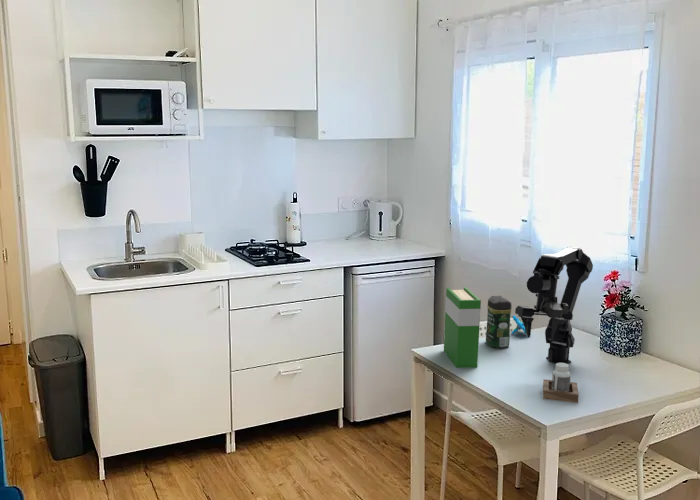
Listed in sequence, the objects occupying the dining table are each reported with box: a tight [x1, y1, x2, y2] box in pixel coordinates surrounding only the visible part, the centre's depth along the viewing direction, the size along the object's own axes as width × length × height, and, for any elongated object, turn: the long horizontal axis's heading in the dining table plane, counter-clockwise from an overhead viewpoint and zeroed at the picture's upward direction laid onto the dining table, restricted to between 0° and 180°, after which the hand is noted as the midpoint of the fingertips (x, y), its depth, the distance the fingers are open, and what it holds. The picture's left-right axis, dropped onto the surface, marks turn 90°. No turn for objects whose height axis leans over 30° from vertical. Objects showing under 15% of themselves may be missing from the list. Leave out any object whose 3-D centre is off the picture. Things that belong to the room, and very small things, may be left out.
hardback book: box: [443, 287, 482, 369], centre depth 256 cm, size 18×7×24 cm, turn 7°
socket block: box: [542, 378, 579, 404], centre depth 227 cm, size 10×10×3 cm
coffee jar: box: [485, 295, 512, 349], centre depth 272 cm, size 10×8×19 cm
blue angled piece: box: [510, 315, 532, 336], centre depth 287 cm, size 11×6×10 cm
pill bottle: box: [551, 363, 571, 392], centre depth 227 cm, size 5×5×10 cm
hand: (540, 337), depth 243 cm, fingers open, 9 cm apart
